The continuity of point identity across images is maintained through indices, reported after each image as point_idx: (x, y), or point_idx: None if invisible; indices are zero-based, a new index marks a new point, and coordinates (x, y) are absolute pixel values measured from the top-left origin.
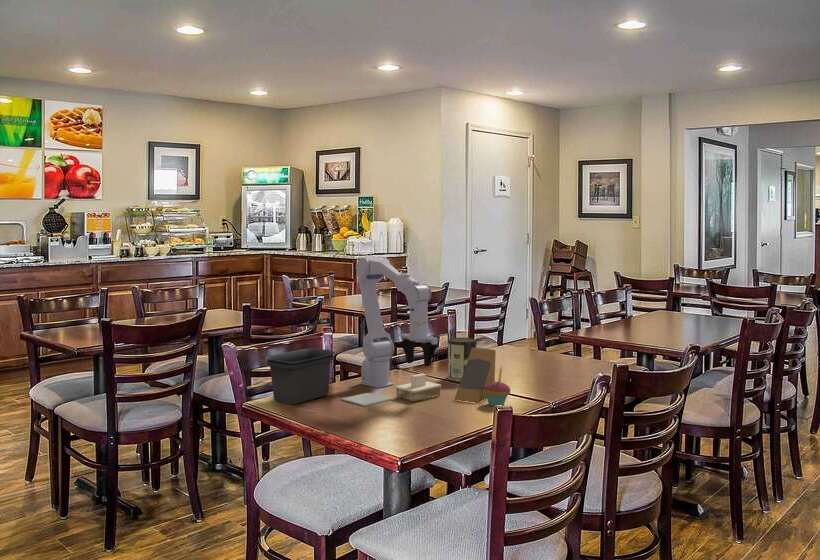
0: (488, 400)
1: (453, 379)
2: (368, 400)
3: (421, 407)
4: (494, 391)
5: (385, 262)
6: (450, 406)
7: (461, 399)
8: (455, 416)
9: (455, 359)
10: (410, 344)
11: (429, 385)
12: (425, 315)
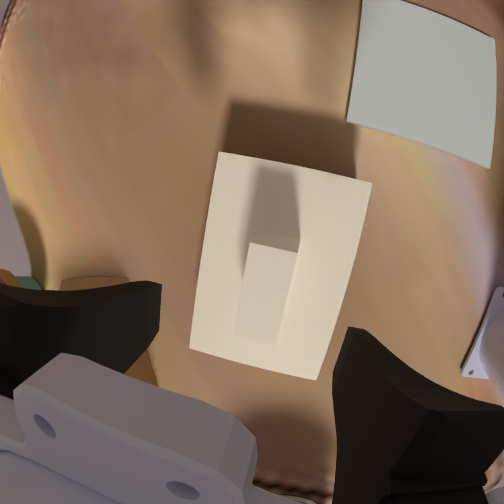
0: (28, 283)
1: (290, 498)
2: (405, 49)
3: (165, 108)
4: None
5: None
6: (95, 194)
7: (101, 285)
8: (43, 106)
9: None
10: (363, 480)
11: (224, 307)
12: None
